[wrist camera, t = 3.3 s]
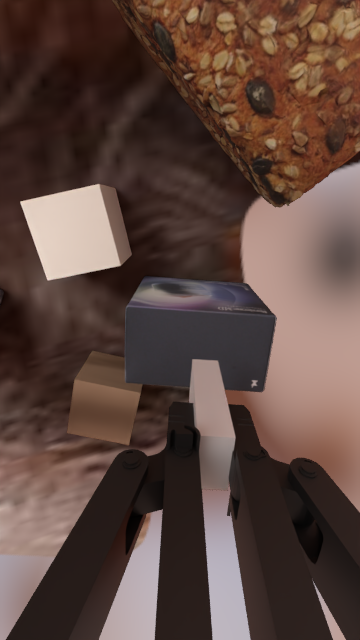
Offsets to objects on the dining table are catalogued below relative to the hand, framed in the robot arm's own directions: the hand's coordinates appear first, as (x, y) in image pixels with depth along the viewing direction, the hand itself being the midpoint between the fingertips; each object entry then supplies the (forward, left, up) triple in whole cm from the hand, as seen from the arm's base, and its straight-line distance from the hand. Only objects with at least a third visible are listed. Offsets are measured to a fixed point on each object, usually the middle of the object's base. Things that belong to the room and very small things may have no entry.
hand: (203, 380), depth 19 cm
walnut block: (+9, -8, -14) cm, 19 cm away
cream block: (-7, -10, -14) cm, 19 cm away
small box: (0, 0, -14) cm, 14 cm away
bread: (-20, +2, -15) cm, 25 cm away
